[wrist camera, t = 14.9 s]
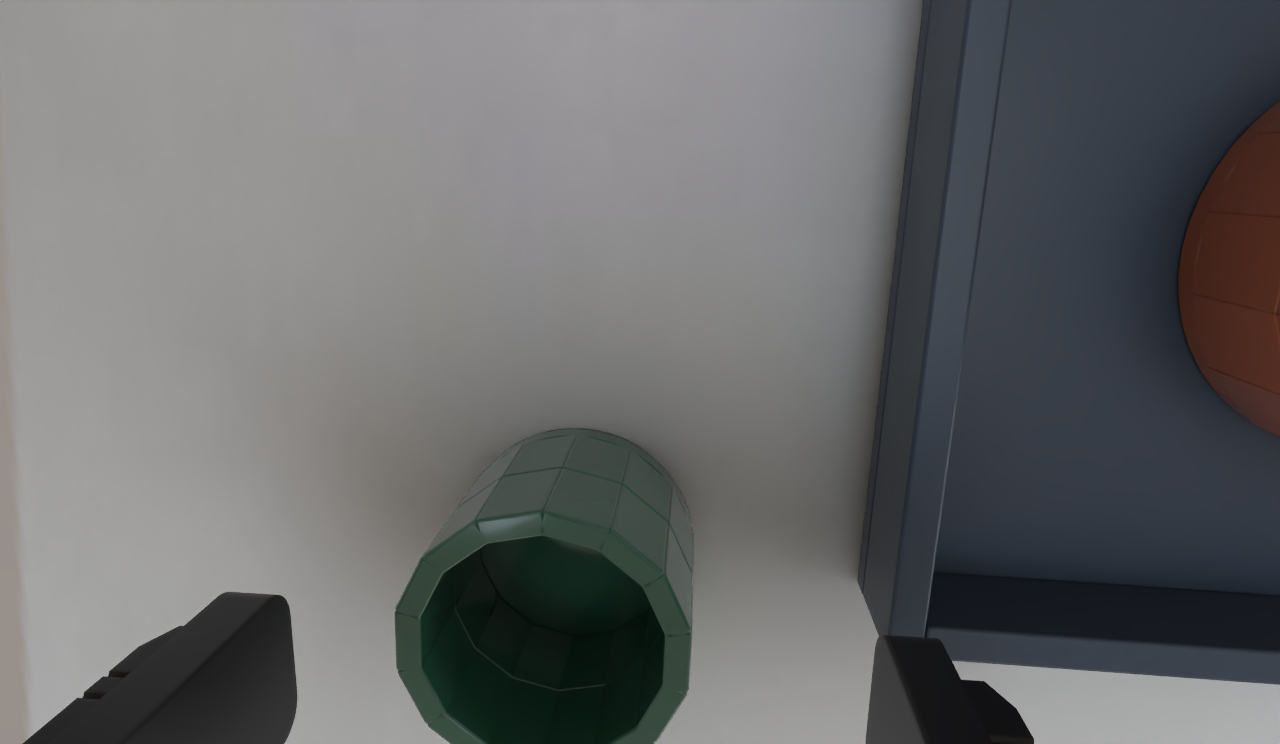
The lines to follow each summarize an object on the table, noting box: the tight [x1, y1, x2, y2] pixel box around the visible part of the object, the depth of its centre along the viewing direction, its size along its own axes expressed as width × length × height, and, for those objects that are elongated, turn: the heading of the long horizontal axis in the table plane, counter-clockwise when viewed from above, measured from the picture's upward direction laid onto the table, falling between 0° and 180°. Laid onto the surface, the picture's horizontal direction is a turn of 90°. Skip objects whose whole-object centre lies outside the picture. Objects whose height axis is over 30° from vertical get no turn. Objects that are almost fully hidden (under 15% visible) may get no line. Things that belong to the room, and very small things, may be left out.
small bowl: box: [395, 429, 693, 744], centre depth 14 cm, size 4×4×4 cm
